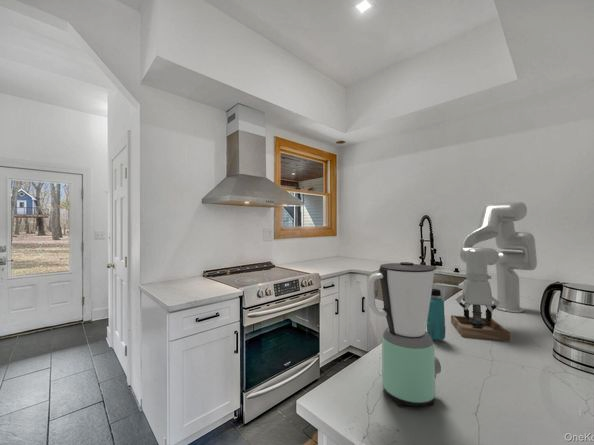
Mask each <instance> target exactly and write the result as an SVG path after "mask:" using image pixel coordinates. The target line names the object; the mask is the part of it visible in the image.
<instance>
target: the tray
mask: <svg viewBox="0 0 594 445" xmlns="http://www.w3.org/2000/svg"><path fill="white" fill-rule="evenodd" d="M472 318H473V316H469V319H466V318H465V316H464V315H463V316H462V315H450V322H451V325H452V326H453V327H454V328H455V330H456V331H457V332H458V334H459V335H460V337H462V338H470V339H471V338H472V339H480V340H489V341H490V340H491V341H499V342H510V341H511V334H510V331H509V330H507V329H506V328H505V327H504V326H502V325H501V324H499V323H498V322H497V321H496V320H495V319H493V318H492V319H491V321H488V320H487V319H486V317H481V318H482V320H483V321H485V322H486V323H485V326H484V327H483V329H477V328H471V327H473V326H472V325H471V323H470V321H469V320H470V319H472Z"/></svg>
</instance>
